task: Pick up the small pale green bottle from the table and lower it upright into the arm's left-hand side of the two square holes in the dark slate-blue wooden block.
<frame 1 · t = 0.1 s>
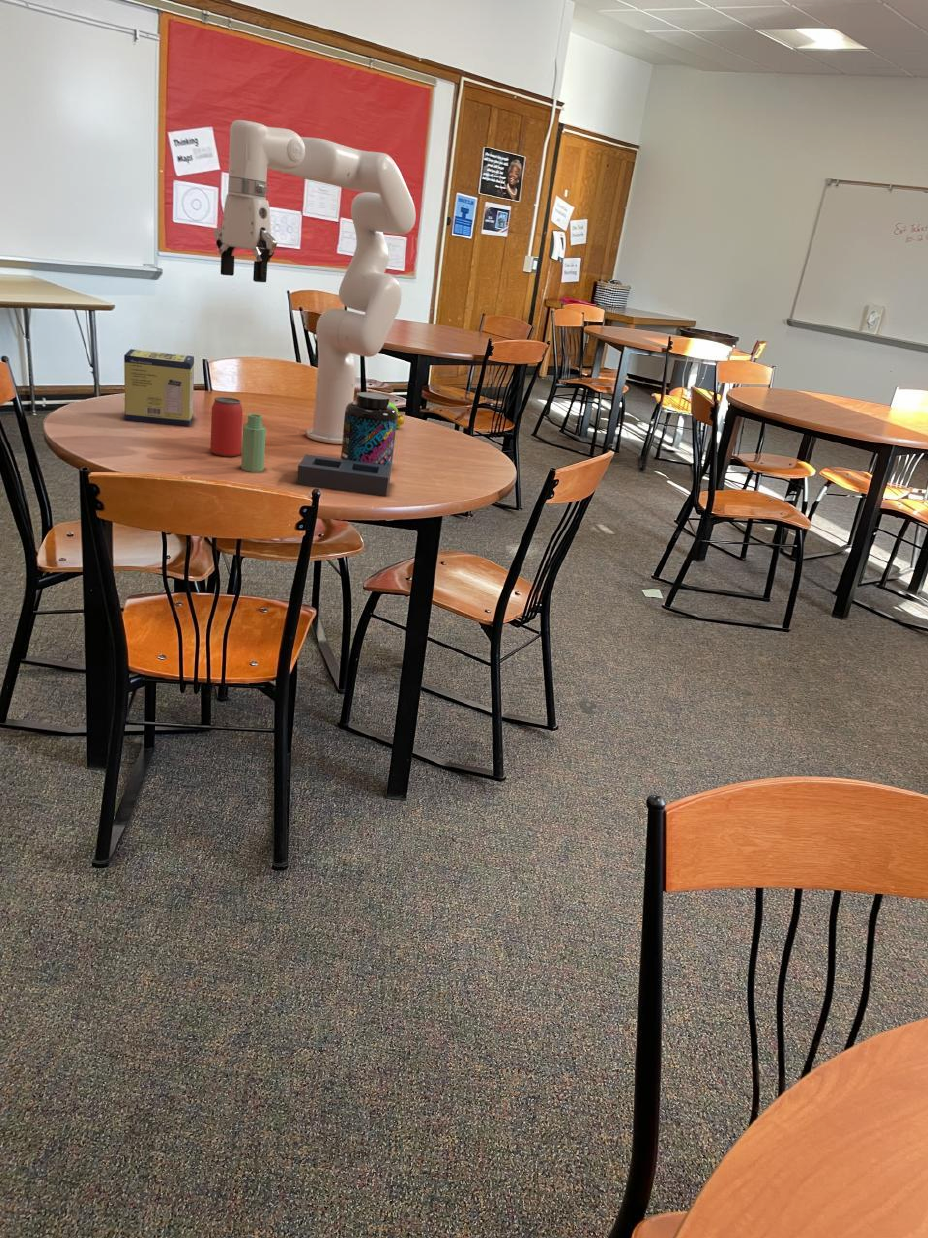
hand: (243, 278, 190), 37 cm above the table, tool pointing down, fingers open, 9 cm apart
hole block: (344, 483, 192), on the table
beer can: (225, 454, 201), on the table
bottle: (252, 468, 192), on the table
container: (365, 466, 210), on the table
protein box: (159, 420, 223), on the table
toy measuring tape: (374, 423, 257), on the table
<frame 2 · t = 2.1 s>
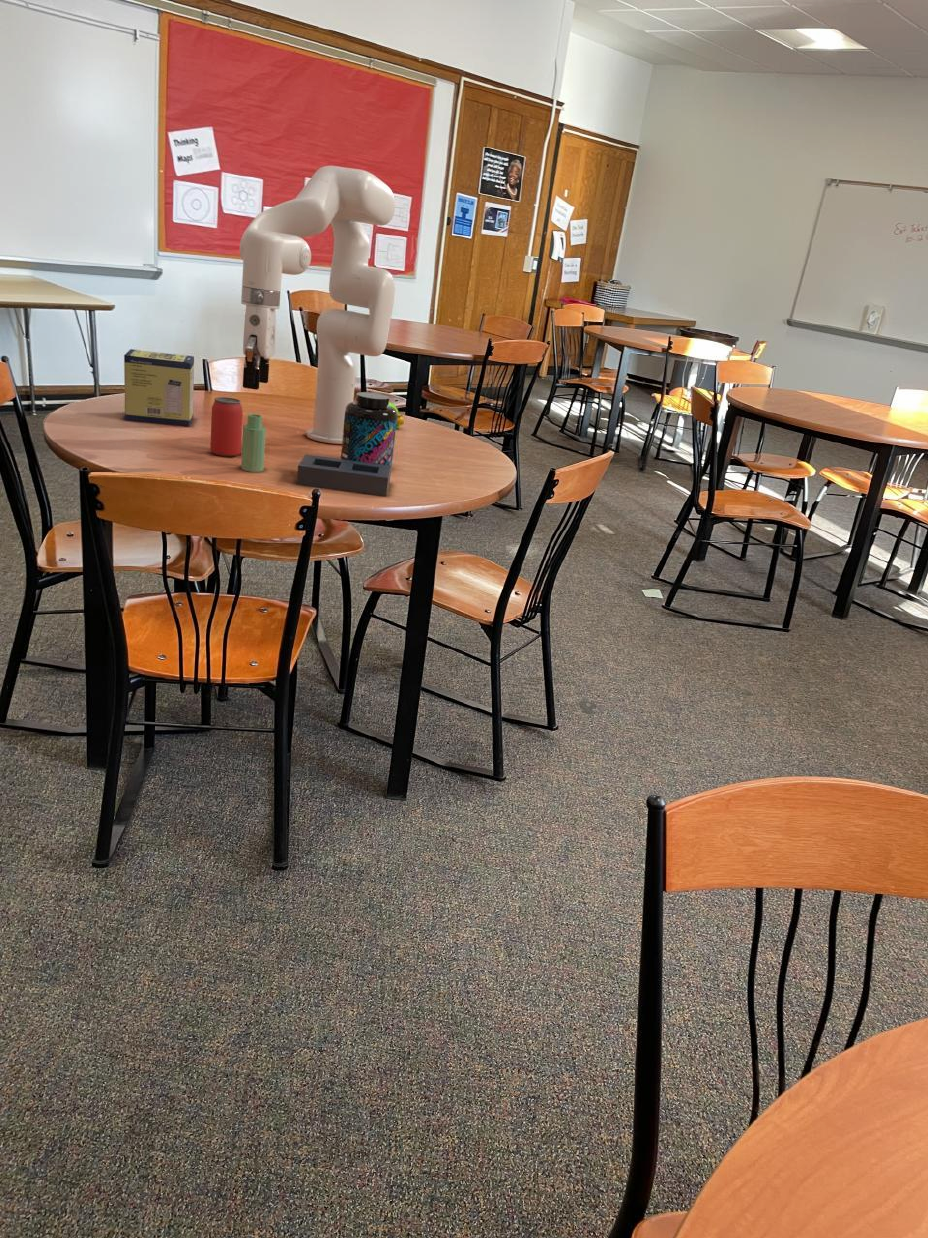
hand: (255, 385, 185), 18 cm above the table, tool pointing down, fingers open, 9 cm apart
nothing on the table moved.
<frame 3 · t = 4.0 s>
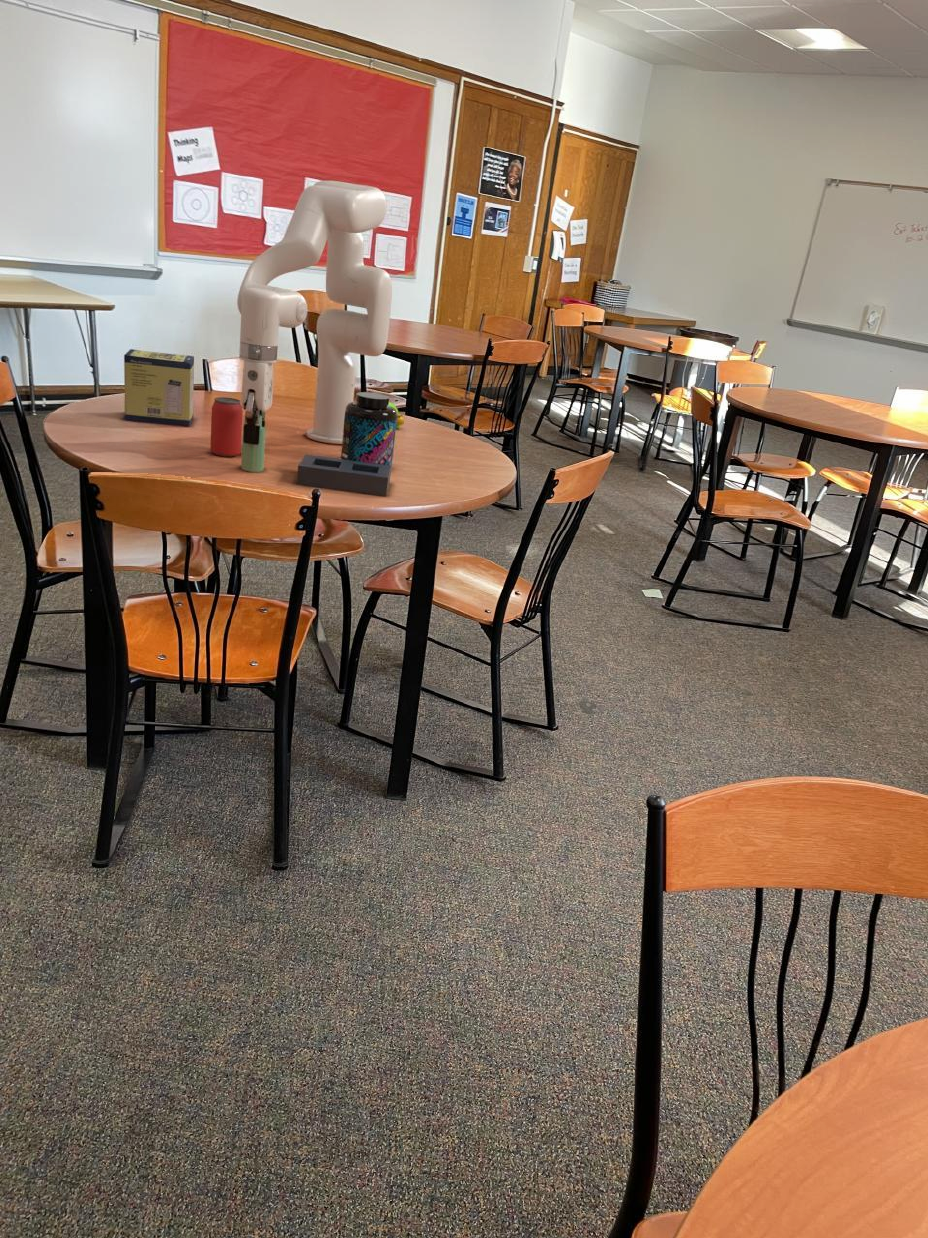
hand: (253, 440, 190), 6 cm above the table, tool pointing down, fingers closed on bottle, 4 cm apart
bottle: (252, 468, 192), on the table, touching gripper
everything else where it was.
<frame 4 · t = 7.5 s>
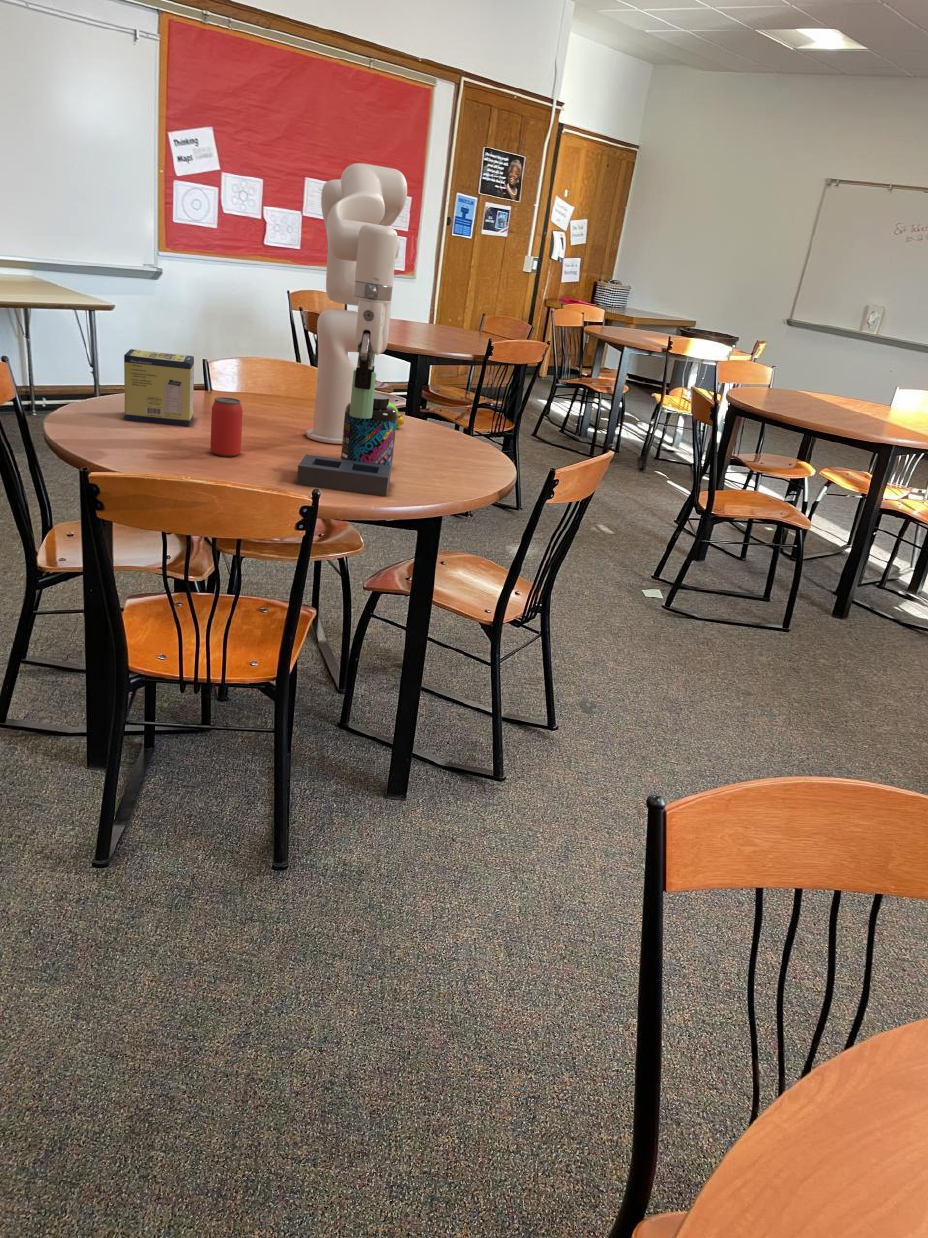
hand: (363, 385, 184), 21 cm above the table, tool pointing down, fingers closed on bottle, 4 cm apart
bottle: (360, 416, 187), point 15 cm above the table, touching gripper
everything else where it was.
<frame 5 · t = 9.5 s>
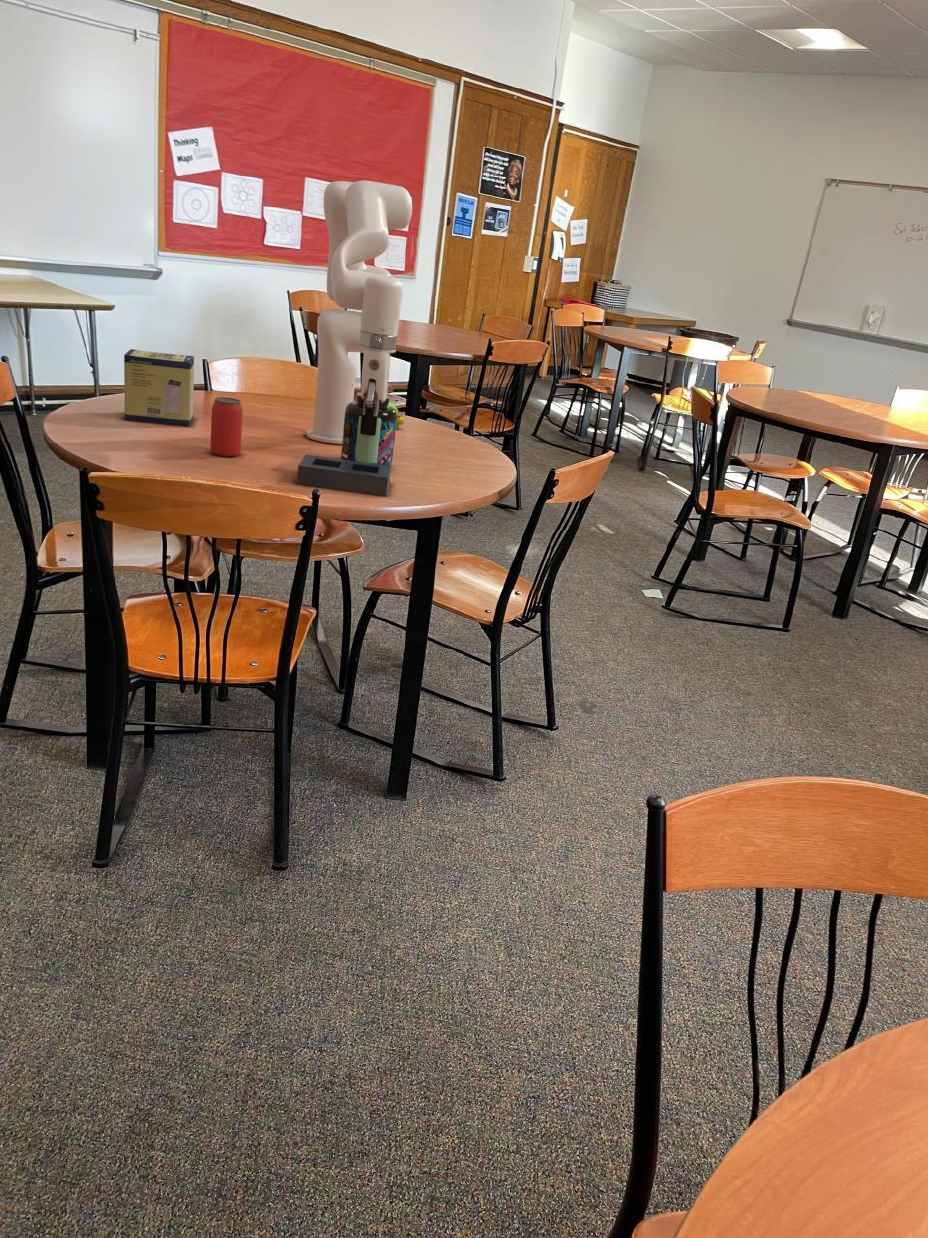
hand: (368, 431, 188), 12 cm above the table, tool pointing down, fingers closed on bottle, 4 cm apart
bottle: (365, 460, 190), point 6 cm above the table, touching gripper
everything else where it was.
when the fingers open (6 cm above the table, at t = 11.2 s): bottle stays where it is, resting in hole block.
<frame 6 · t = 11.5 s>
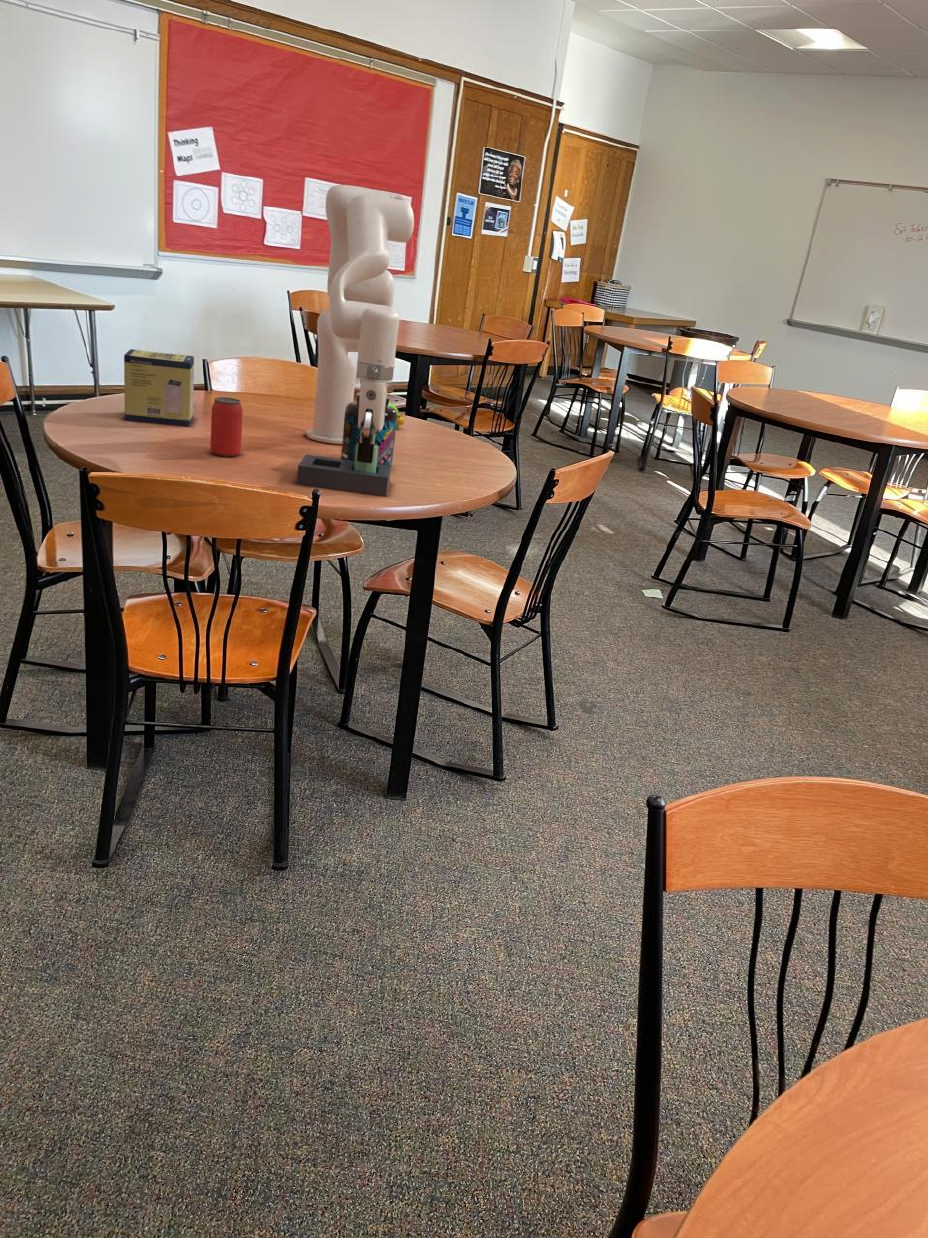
hand: (366, 457, 190), 6 cm above the table, tool pointing down, fingers open, 6 cm apart
bottle: (363, 486, 192), resting in hole block
everything else where it was.
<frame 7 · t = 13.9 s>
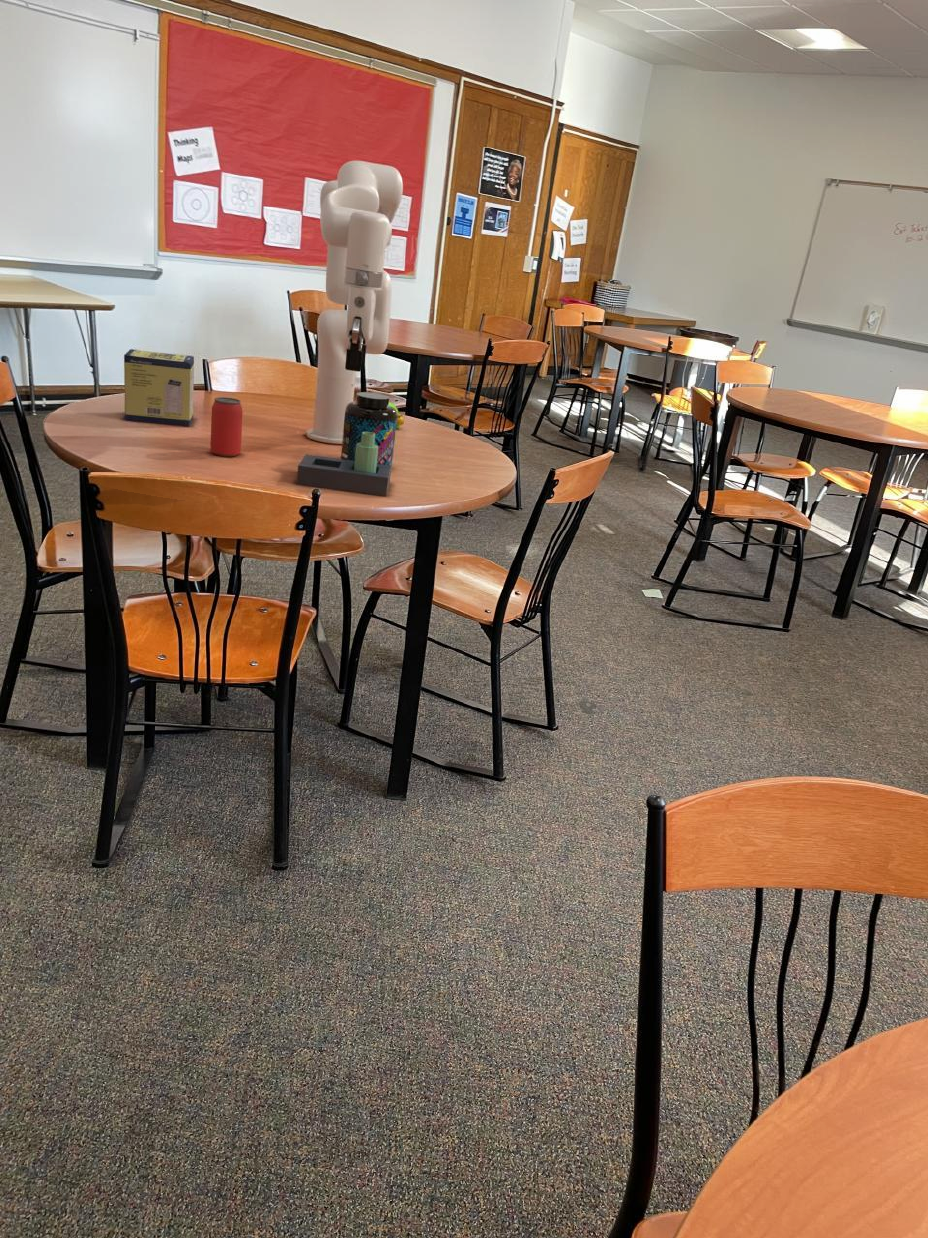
hand: (355, 366, 186), 24 cm above the table, tool pointing down, fingers open, 9 cm apart
nothing on the table moved.
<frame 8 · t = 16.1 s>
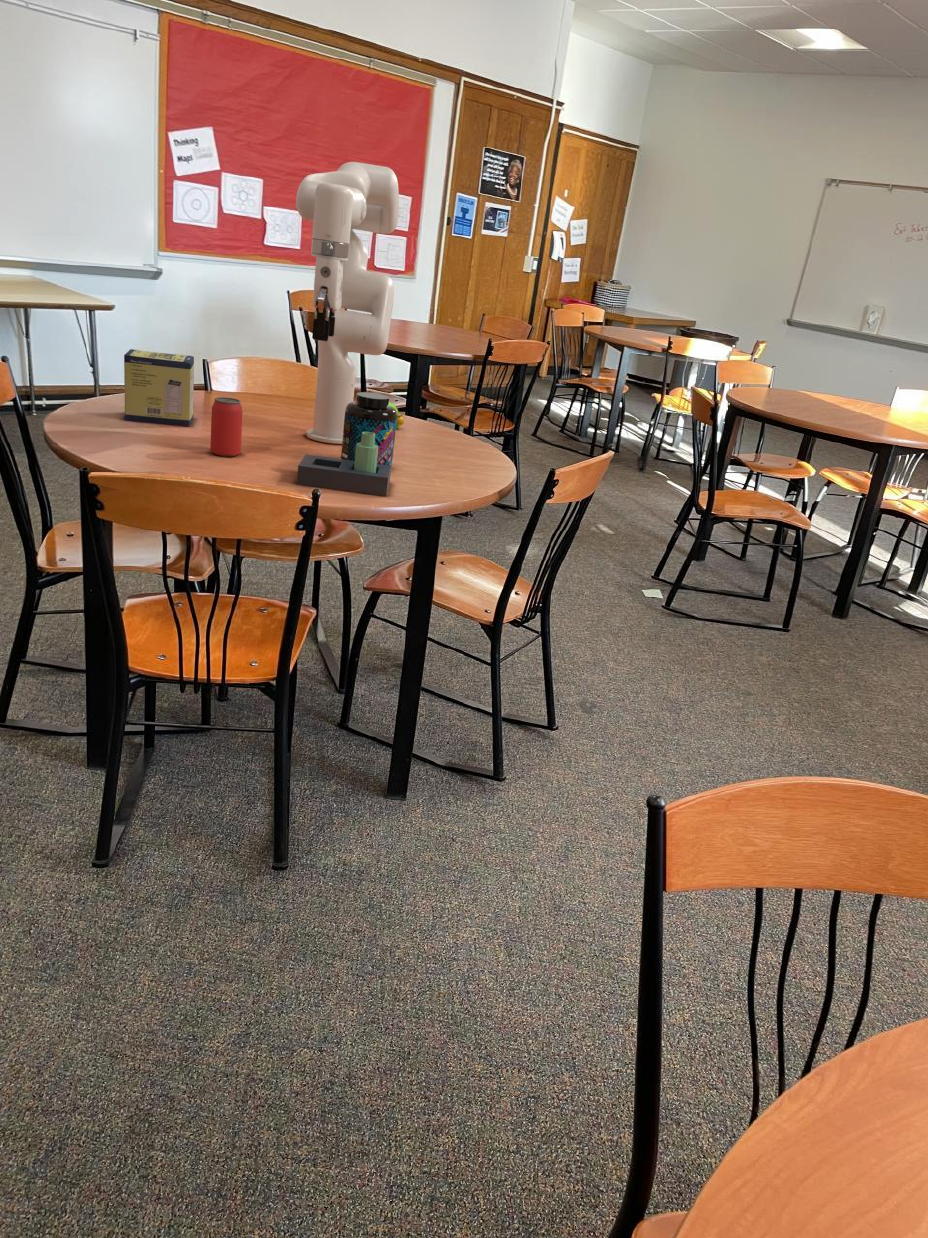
hand: (323, 337, 189), 28 cm above the table, tool pointing down, fingers open, 9 cm apart
nothing on the table moved.
at the end: bottle 0.1 cm from the target spot in the hole block, point 0.0 cm above the hole block's base; bottle tilted 0°; the gripper is holding nothing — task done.
